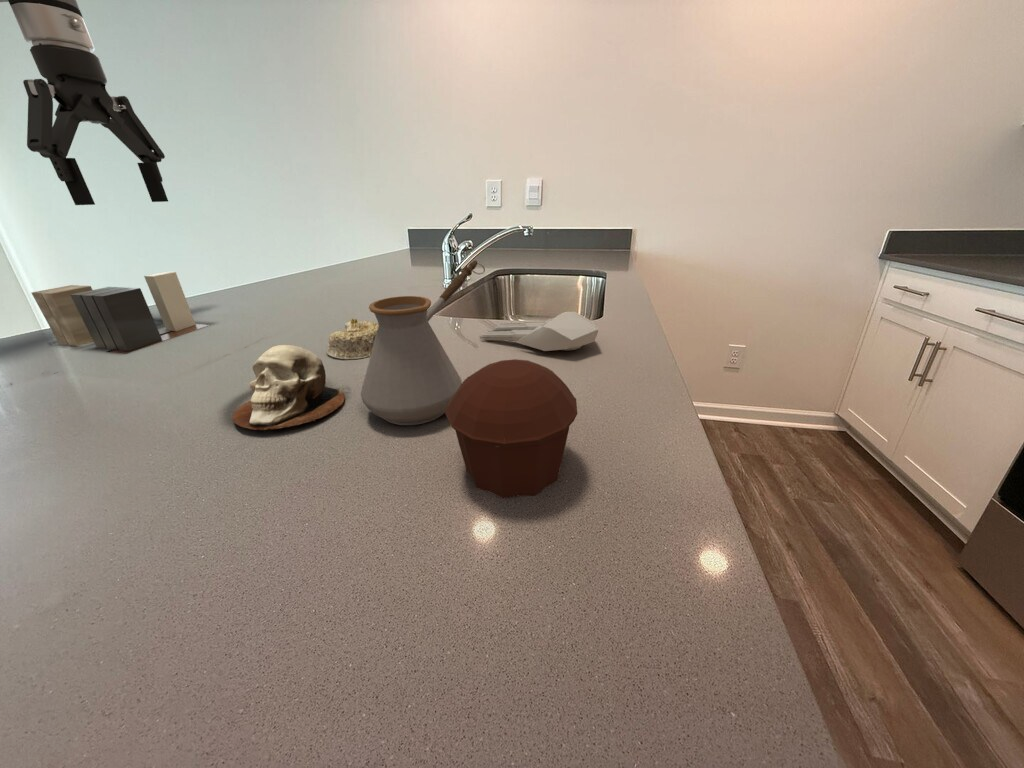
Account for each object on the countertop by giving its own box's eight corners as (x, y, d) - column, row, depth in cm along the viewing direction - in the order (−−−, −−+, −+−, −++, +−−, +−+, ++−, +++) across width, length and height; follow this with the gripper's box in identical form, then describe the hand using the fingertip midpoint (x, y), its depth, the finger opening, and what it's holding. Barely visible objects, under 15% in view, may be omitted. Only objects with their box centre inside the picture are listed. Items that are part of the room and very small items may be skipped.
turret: (504, 338, 77) (500, 313, 75) (608, 337, 67) (606, 308, 65) (475, 356, 69) (470, 329, 67) (588, 358, 59) (585, 326, 57)
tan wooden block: (50, 352, 69) (17, 293, 65) (142, 325, 82) (119, 274, 78) (84, 356, 67) (52, 295, 63) (172, 328, 80) (151, 275, 76)
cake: (395, 340, 72) (393, 310, 70) (381, 363, 63) (378, 330, 61) (338, 337, 72) (334, 308, 69) (315, 360, 63) (310, 327, 60)
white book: (166, 330, 75) (143, 275, 71) (187, 324, 78) (166, 271, 74) (175, 331, 74) (153, 276, 70) (195, 324, 78) (175, 271, 73)
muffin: (497, 422, 45) (493, 337, 41) (592, 450, 40) (599, 356, 36) (426, 484, 36) (411, 383, 32) (537, 530, 31) (538, 417, 27)
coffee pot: (422, 445, 42) (401, 301, 35) (343, 420, 47) (312, 289, 40) (518, 369, 58) (516, 261, 52) (453, 356, 63) (444, 257, 57)
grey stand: (93, 356, 67) (61, 295, 63) (180, 328, 80) (159, 276, 76) (129, 360, 65) (99, 297, 61) (212, 331, 78) (192, 277, 74)
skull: (304, 434, 42) (224, 362, 40) (264, 476, 47) (192, 413, 45) (369, 381, 52) (308, 322, 50) (331, 420, 57) (274, 367, 55)
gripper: (-21, 17, 50) (67, 206, 59) (158, 69, 72) (202, 200, 81) (-72, 22, 51) (22, 207, 60) (121, 71, 73) (168, 201, 82)
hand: (126, 203), depth 71 cm, fingers open, 13 cm apart
